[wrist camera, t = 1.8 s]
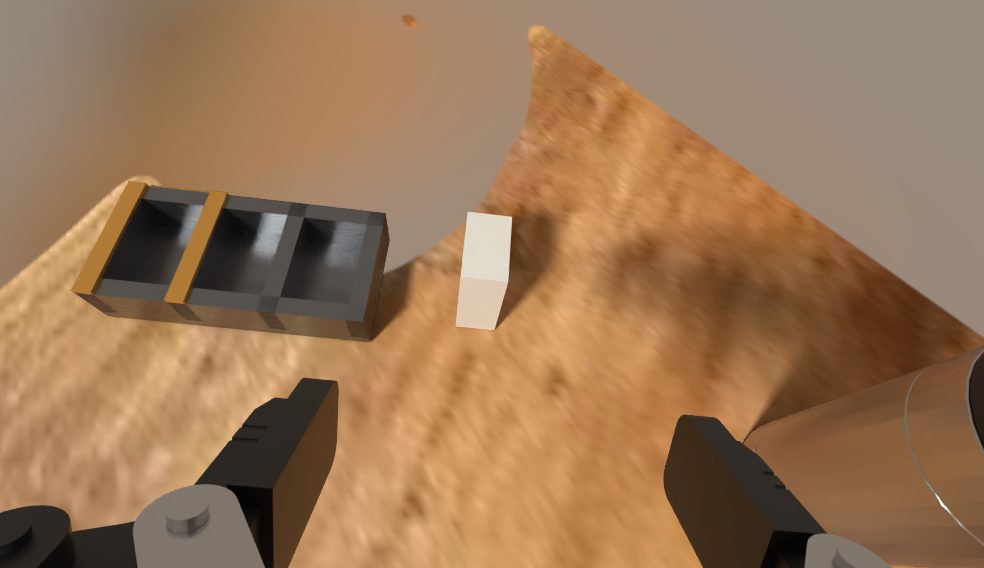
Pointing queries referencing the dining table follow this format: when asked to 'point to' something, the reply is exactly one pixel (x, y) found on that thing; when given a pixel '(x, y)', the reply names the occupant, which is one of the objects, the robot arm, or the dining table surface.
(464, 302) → the white rectangular block
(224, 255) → the slot rack
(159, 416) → the dining table surface
